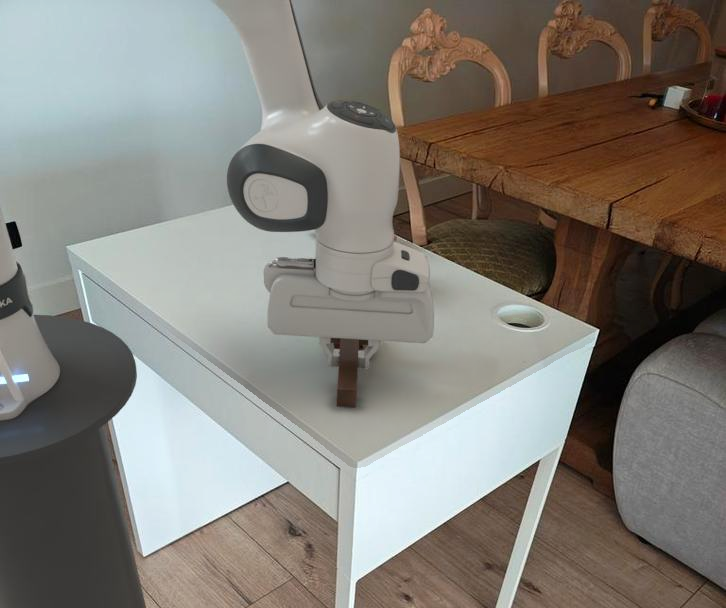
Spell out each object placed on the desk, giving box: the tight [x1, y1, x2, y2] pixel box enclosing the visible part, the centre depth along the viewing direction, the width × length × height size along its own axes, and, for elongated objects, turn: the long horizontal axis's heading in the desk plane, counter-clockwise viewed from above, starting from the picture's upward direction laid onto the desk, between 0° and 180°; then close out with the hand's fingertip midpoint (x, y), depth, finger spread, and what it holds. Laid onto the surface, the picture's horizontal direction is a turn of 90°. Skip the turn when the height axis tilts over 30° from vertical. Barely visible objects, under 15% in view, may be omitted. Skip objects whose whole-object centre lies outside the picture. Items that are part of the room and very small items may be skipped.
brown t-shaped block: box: [331, 338, 381, 408], centre depth 90 cm, size 8×13×4 cm, turn 179°
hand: (348, 365), depth 90 cm, fingers closed on brown t-shaped block, 2 cm apart
